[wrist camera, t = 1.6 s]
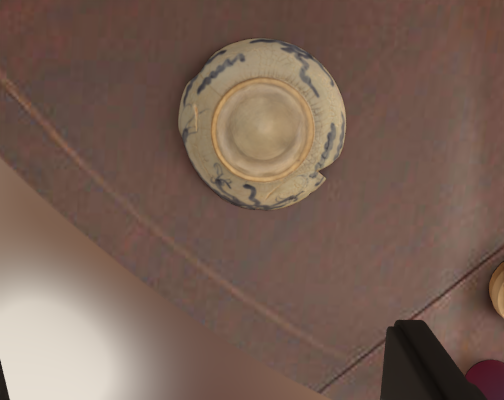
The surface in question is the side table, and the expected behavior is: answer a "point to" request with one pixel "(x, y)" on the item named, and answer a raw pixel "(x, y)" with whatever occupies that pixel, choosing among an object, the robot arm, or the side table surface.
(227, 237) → the side table surface
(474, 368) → the cup
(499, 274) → the chip pile
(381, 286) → the side table surface
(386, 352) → the robot arm
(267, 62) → the decorative bowl
